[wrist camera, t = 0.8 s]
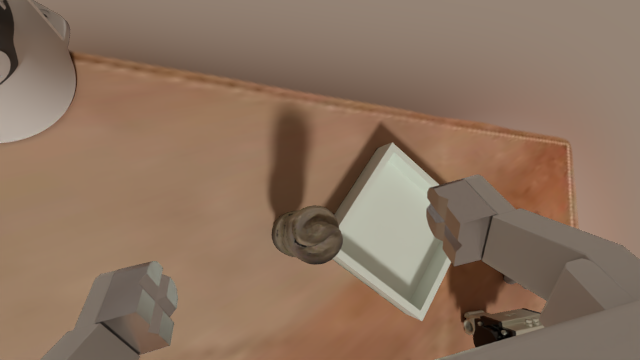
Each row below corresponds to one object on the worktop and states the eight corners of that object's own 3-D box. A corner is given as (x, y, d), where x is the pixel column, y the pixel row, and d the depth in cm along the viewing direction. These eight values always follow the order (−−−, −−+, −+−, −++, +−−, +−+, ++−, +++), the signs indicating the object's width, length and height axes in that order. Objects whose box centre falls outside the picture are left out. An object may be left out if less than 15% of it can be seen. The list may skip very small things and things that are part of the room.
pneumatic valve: (500, 330, 55) (577, 358, 44) (445, 342, 51) (515, 376, 40) (497, 297, 56) (572, 316, 45) (443, 305, 52) (511, 329, 40)
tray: (314, 245, 45) (324, 247, 41) (377, 148, 50) (392, 142, 47) (404, 313, 49) (422, 321, 45) (454, 216, 54) (473, 216, 51)
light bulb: (253, 223, 42) (282, 225, 28) (287, 201, 44) (330, 193, 30) (275, 259, 43) (314, 279, 29) (308, 236, 45) (360, 244, 31)
